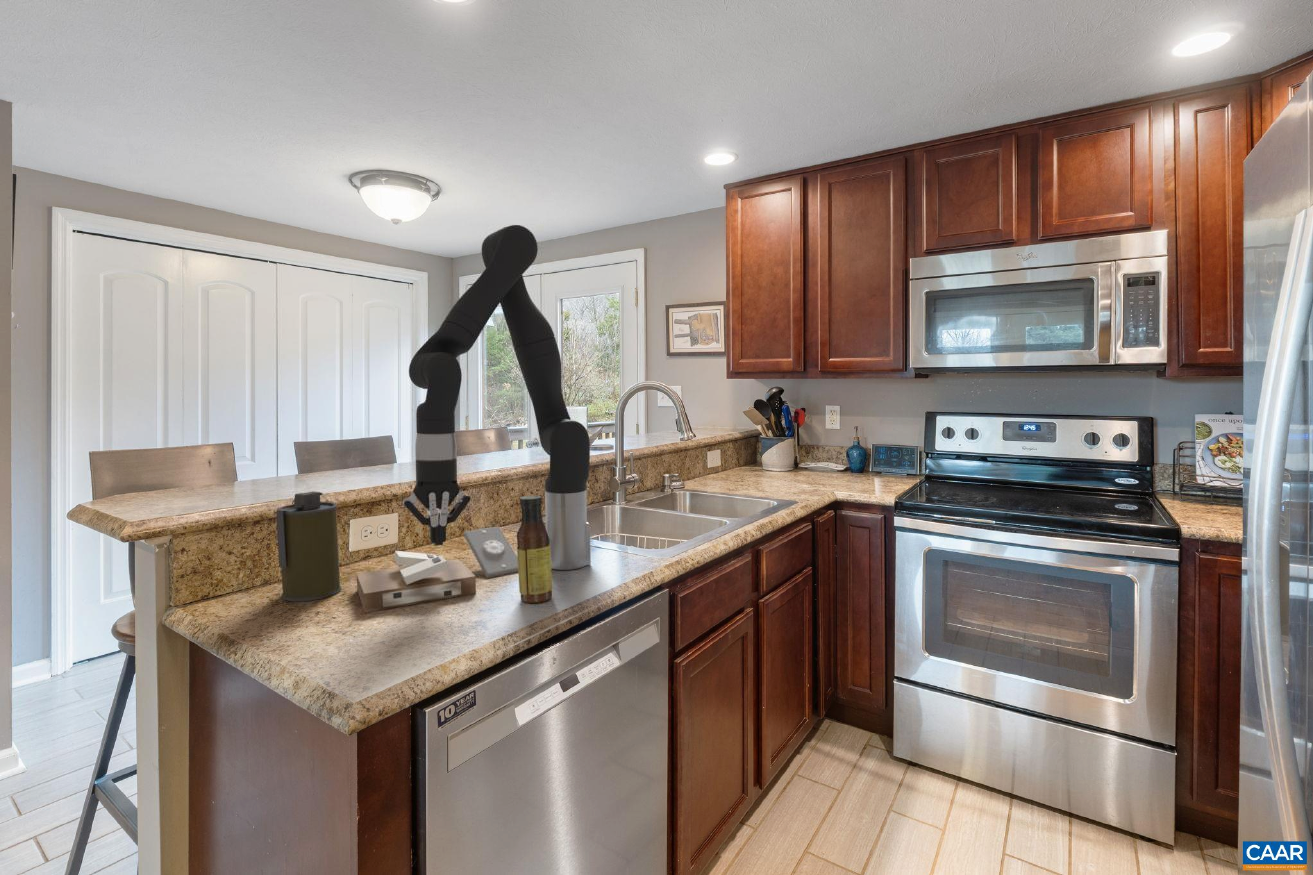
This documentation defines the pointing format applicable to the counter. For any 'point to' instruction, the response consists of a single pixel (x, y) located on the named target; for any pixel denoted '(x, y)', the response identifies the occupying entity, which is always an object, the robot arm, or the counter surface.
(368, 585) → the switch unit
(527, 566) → the sauce bottle
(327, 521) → the canister
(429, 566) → the rocker
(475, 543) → the light switch
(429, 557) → the rocker
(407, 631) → the counter surface
